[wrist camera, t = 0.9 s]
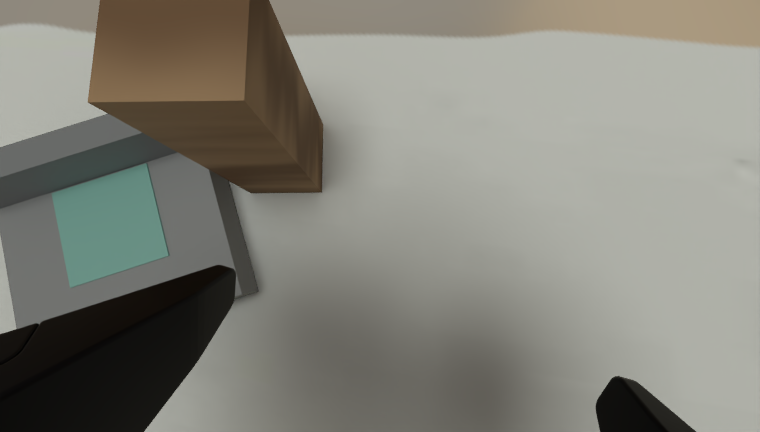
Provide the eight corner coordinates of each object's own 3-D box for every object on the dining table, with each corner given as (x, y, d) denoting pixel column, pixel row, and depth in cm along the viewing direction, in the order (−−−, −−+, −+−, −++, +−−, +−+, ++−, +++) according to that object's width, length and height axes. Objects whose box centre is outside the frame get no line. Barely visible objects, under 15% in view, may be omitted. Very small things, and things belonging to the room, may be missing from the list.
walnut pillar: (321, 192, 23) (244, 100, 10) (250, 192, 23) (87, 102, 10) (323, 124, 23) (251, -41, 11) (254, 125, 23) (104, -38, 11)
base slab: (258, 291, 22) (215, 299, 16) (65, 355, 21) (-45, 385, 16) (209, 113, 23) (156, 66, 18) (30, 170, 23) (-80, 140, 18)
